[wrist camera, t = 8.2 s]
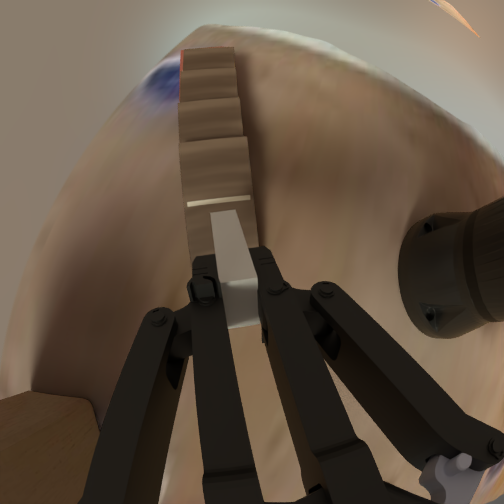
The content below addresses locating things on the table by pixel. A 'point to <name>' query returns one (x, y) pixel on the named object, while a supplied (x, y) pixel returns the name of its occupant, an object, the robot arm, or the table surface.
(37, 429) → the wooden block
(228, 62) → the tile
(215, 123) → the tile
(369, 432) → the table surface
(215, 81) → the tile
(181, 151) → the tile
